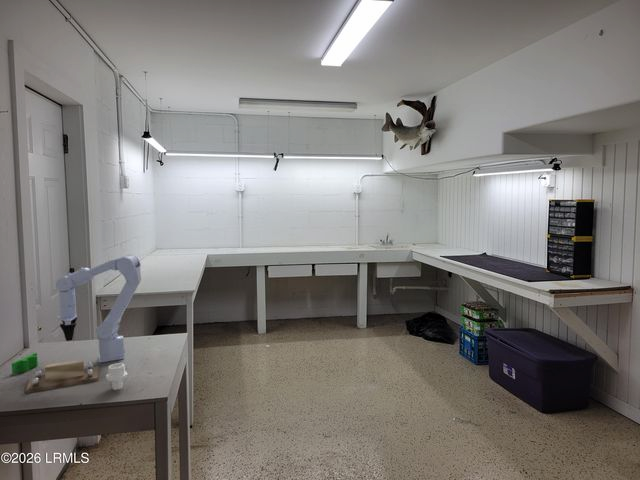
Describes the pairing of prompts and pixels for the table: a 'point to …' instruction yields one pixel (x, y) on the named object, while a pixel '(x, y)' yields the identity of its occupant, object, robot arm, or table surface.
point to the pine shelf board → (64, 370)
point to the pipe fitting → (116, 375)
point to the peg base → (62, 380)
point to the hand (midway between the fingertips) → (69, 337)
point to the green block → (25, 364)
